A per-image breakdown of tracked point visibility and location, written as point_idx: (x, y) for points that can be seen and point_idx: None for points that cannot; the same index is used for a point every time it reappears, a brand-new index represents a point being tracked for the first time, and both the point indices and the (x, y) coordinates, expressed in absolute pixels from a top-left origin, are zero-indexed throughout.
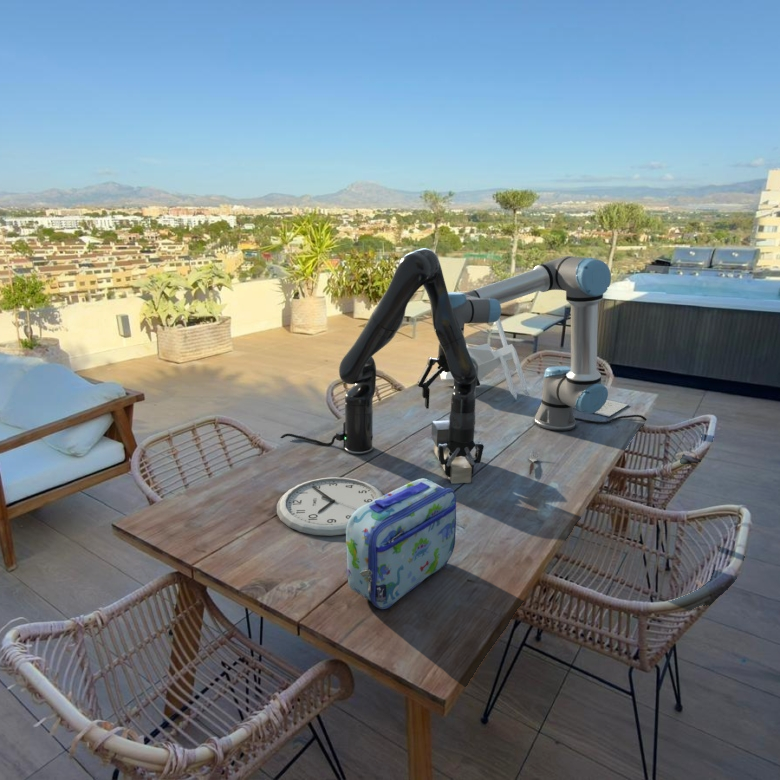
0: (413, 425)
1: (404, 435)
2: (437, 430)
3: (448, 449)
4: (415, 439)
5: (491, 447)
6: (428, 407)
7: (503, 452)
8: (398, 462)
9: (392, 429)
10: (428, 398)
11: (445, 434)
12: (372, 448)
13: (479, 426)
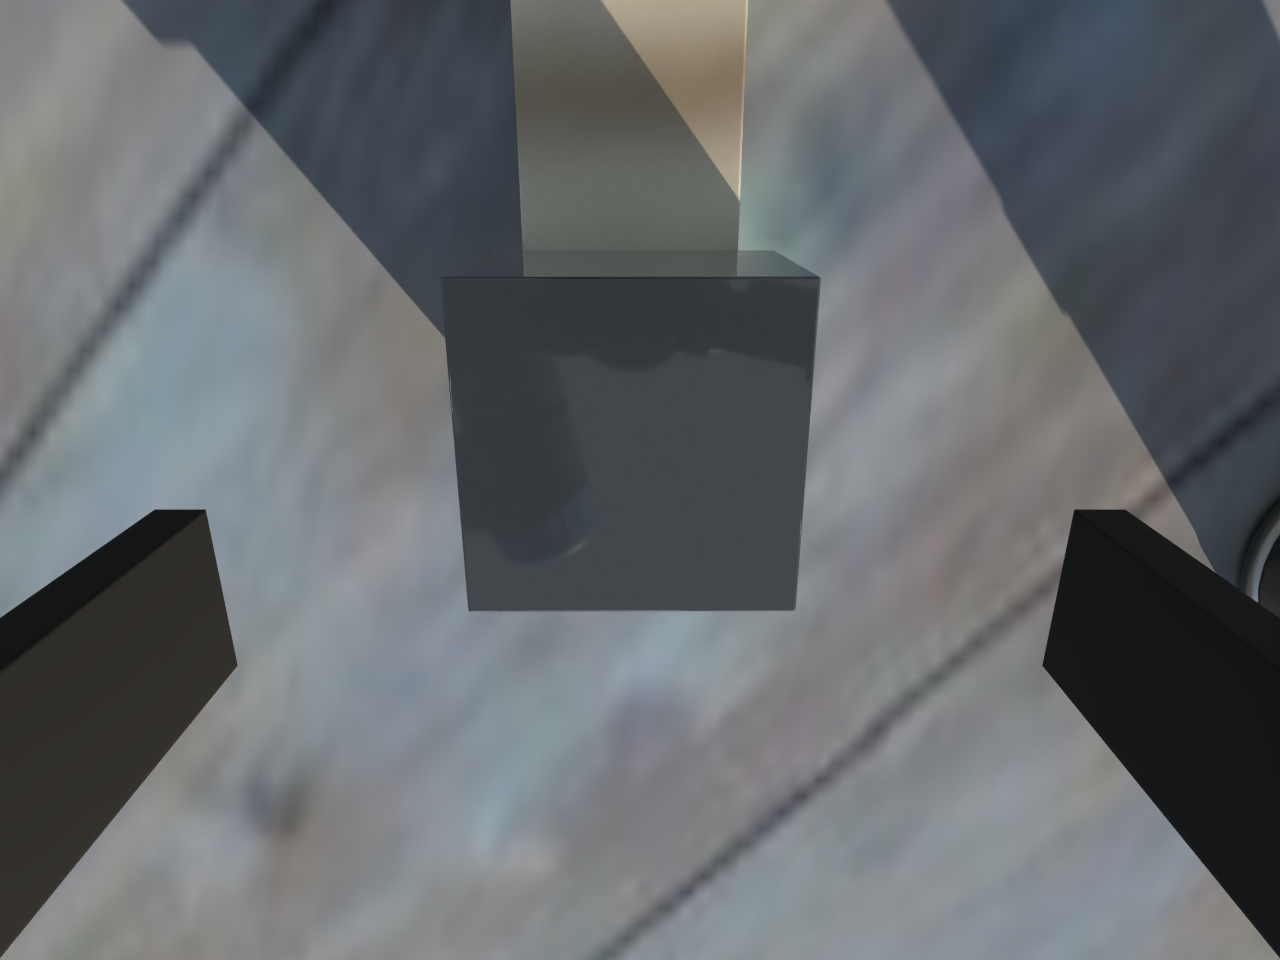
0: (747, 946)
1: (876, 783)
2: (818, 276)
3: (655, 162)
4: (807, 704)
5: (153, 486)
6: (1093, 520)
7: (48, 366)
8: (1115, 248)
9: (938, 892)
10: (1249, 634)
11: (687, 267)
12: (1263, 536)
13: (202, 892)
